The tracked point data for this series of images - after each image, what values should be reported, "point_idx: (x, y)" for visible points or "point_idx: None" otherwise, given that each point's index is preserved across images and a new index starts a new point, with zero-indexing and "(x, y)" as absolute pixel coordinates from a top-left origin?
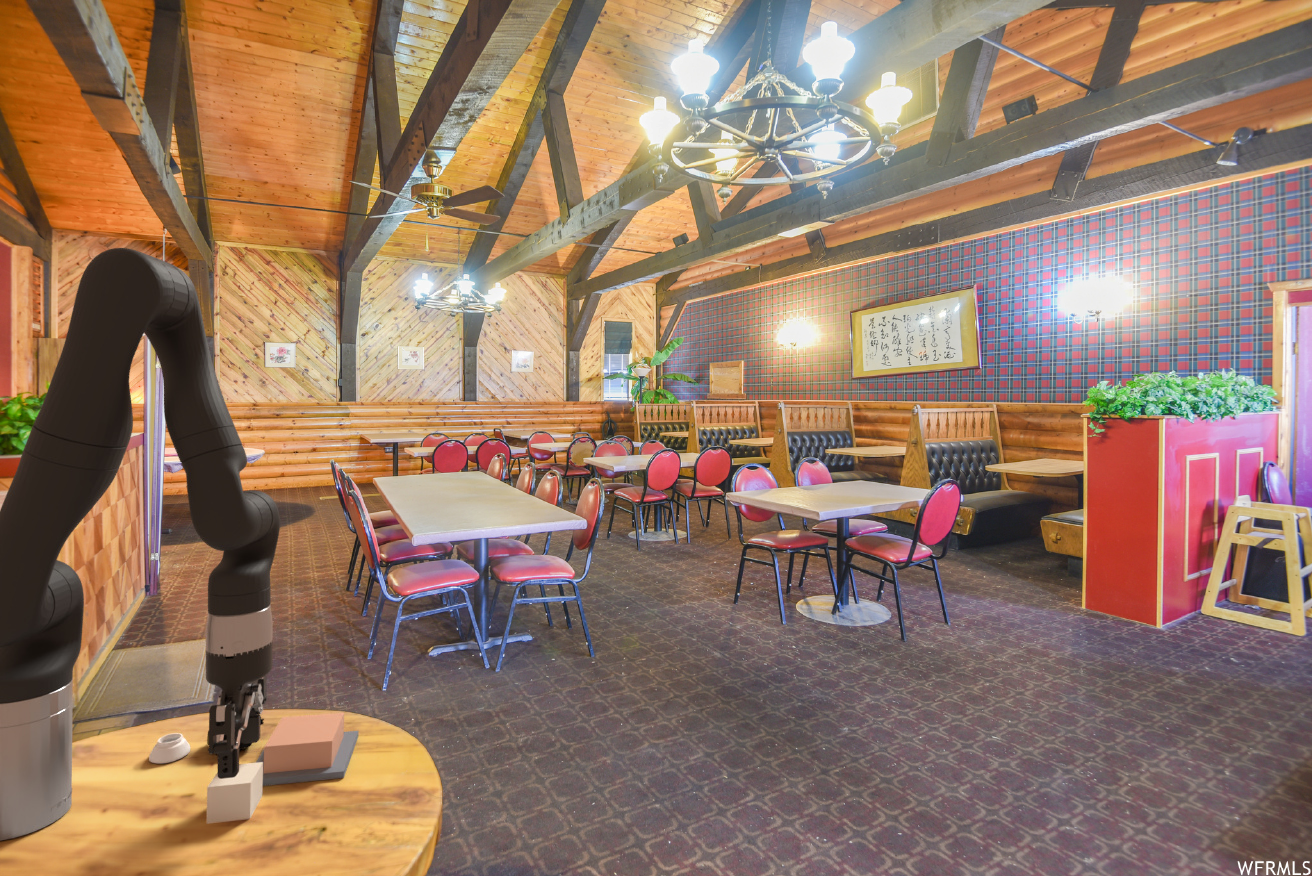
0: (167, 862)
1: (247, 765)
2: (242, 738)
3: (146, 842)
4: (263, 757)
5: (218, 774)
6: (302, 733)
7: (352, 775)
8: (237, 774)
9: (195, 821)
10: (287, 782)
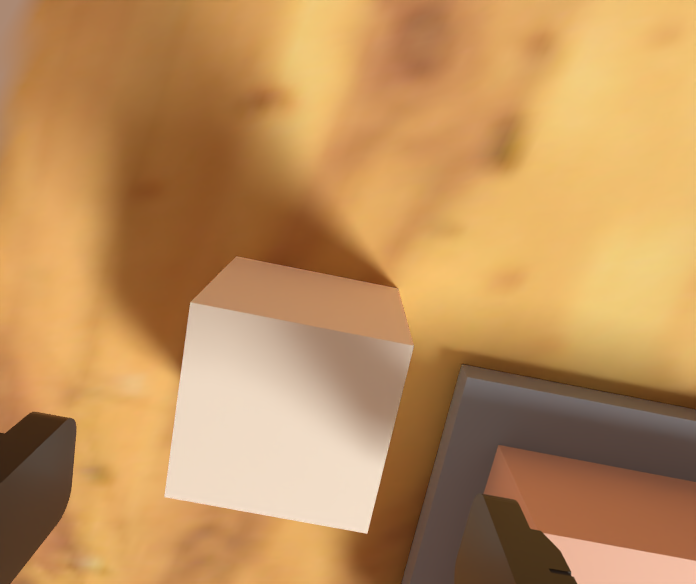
0: (9, 156)
1: (359, 468)
2: (486, 515)
3: (175, 42)
4: (655, 434)
5: (24, 422)
6: None
7: None
8: (279, 430)
9: (269, 211)
10: (420, 514)
